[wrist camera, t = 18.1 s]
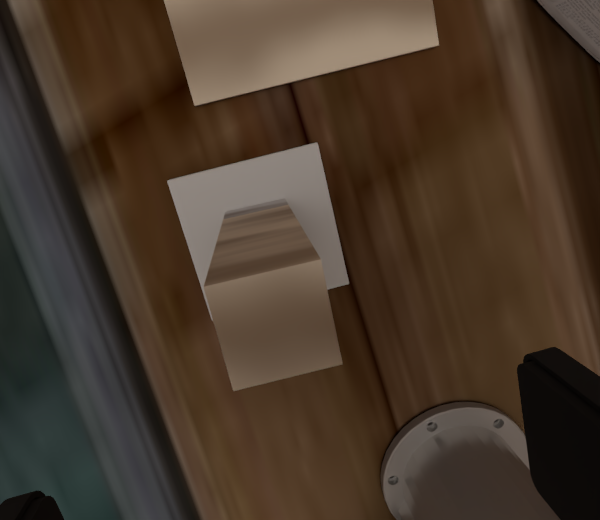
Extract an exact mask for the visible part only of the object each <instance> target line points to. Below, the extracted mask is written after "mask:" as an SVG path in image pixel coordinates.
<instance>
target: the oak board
mask: <svg viewBox="0 0 600 520" xmlns="http://www.w3.org/2000/svg"><path fill="white" fill-rule="evenodd" d="M164 2H165V6H166V9H167V13H168V16H169V19H170V23H171V26H172V30H173V33H174V37H175V40H176V44H177V47H178V50H179V54H180V57H181V61H182V64H183V68H184V71H185V74H186V78H187V81H188V85H189V88H190V92H191V95H192V99H193V102H194V105H195V106H199V105H203V104H207V103H211V102H215V101H219V100H223V99H227V98H231V97H235V96H239V95H243V94H247V93H251V92H255V91H259V90H263V89H267V88H271V87H276V86H280V85H284V84H288V83H292V82H296V81H300V80H304V79H308V78H312V77H316V76H320V75H324V74H328V73H332V72H336V71H340V70H344V69H348V68H352V67H356V66H360V65H364V64H368V63H372V62H376V61H380V60H384V59H388V58H392V57H396V56H400V55H404V54H408V53H412V52H416V51H420V50H424V49H429V48H433V47H436V46H438V45H439V42H438V35H437V28H436V21H435V14H434V7H433V0H164Z"/></svg>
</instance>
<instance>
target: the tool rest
mask: <svg viewBox="0 0 600 520" xmlns="http://www.w3.org/2000/svg"><path fill="white" fill-rule="evenodd" d="M167 182H168V185H169V188H170V191H171V194H172V198H173V201H174V204H175V207H176V210H177V213H178V216H179V219H180V223H181V226H182V229H183V232H184V235H185V238H186V241H187V244H188V248H189V251H190V254H191V257H192V260H193V263H194V266H195V269H196V273H197V276H198V279H199V282H200V285H201V288H202V291H203V294H204V298H205V301H206V304H207V307H208V310H209V313H210V316H211V319H212V320H213V318H212V315H211V311H210V308H209V304H208V301H207V297H206V294H205V290H204V283H205V280H206V277H207V273H208V270H209V266H210V263H211V259H212V256H213V253H214V249H215V246H216V242H217V239H218V235H219V232H220V229H221V225H222V222H223V218H224V215H225V212H226V211H230V210H234V209H239V208H243V207H248V206H252V205H256V204H261V203H265V202H270V201H274V200H279V199H283V198H285V200H286V202H287V203H288V205H289V207H290V208H291V210H292V212H293V213H294V215H295V217H296V218H297V220H298V222H299V223H300V225H301V227H302V228H303V230H304V232H305V233H306V235H307V237H308V238H309V240H310V242H311V243H312V245H313V247H314V248H315V250H316V252H317V253H318V255H319V257H320V258H321V262H322V267H323V272H324V276H325V281H326V286H327V290H328V289H332V288H335V287H339V286H343V285H347V284H349V280H348V276H347V272H346V267H345V263H344V258H343V254H342V249H341V245H340V240H339V236H338V231H337V227H336V223H335V218H334V214H333V209H332V205H331V200H330V196H329V191H328V187H327V182H326V178H325V174H324V169H323V165H322V160H321V156H320V151H319V147H318V142H315V143H311V144H307V145H303V146H299V147H295V148H292V149H288V150H284V151H280V152H276V153H272V154H268V155H264V156H260V157H256V158H252V159H248V160H244V161H240V162H236V163H233V164H229V165H225V166H221V167H217V168H213V169H209V170H205V171H201V172H197V173H193V174H189V175H185V176H181V177H178V178H174V179H170V180H168V181H167Z"/></svg>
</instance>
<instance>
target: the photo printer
mask: <svg viewBox="0 0 600 520" xmlns="http://www.w3.org/2000/svg"><path fill="white" fill-rule="evenodd" d="M537 1H538V2H539V4H540V5H541V6H542V7H543V8H544V9H545V10H546V11H547V12H548V13H549V14H550V15H551V16H552V17H553V18H554V19H555V20H556V21H557V22H558V23H559V24H560V25H561V26H562V27H563V28H564V29H565V30H566V31H567V32H568V33H569V34H570V35H571V36H572V37H573V38H574V39H575V40H576V41H577V42H578V43H579V44H580V45H581V46H582V47H583V48H584V49H585V50H586V51H587V52H588V53H589V54H590V55H592V56H593V57H594V58H595V59H596V60H597V61H598V62H600V0H537Z"/></svg>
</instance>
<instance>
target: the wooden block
mask: <svg viewBox="0 0 600 520" xmlns="http://www.w3.org/2000/svg"><path fill="white" fill-rule="evenodd" d="M204 290H205V294H206V297H207V301H208V304H209V308H210V311H211V315H212V318H213V322H214V325H215V329H216V332H217V336H218V339H219V343H220V346H221V350H222V353H223V357H224V361H225V364H226V368H227V371H228V375H229V378H230V382H231V385H232V389H233V391H236V390H240V389H244V388H248V387H252V386H256V385H261V384H265V383H269V382H273V381H277V380H281V379H285V378H289V377H293V376H297V375H301V374H305V373H309V372H313V371H317V370H321V369H325V368H329V367H333V366H338V365H342V359H341V354H340V349H339V344H338V339H337V334H336V330H335V325H334V320H333V315H332V310H331V305H330V301H329V296H328V291H327V286H326V281H325V276H324V272H323V267H322V262H321V258H320V257H319V255H318V253H317V252H316V250H315V248H314V247H313V245H312V243H311V242H310V240H309V238H308V237H307V235H306V233H305V232H304V230H303V228H302V227H301V225H300V223H299V222H298V220H297V218H296V217H295V215H294V213H293V212H292V210H291V208H290V207H289V205H288V203H287V202H286V200H285V198H283V199H279V200H274V201H270V202H265V203H261V204H256V205H252V206H248V207H243V208H239V209H234V210H230V211H226V212H225V215H224V218H223V222H222V225H221V229H220V232H219V235H218V239H217V242H216V246H215V249H214V253H213V256H212V259H211V263H210V266H209V270H208V273H207V277H206V280H205V283H204Z"/></svg>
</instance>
